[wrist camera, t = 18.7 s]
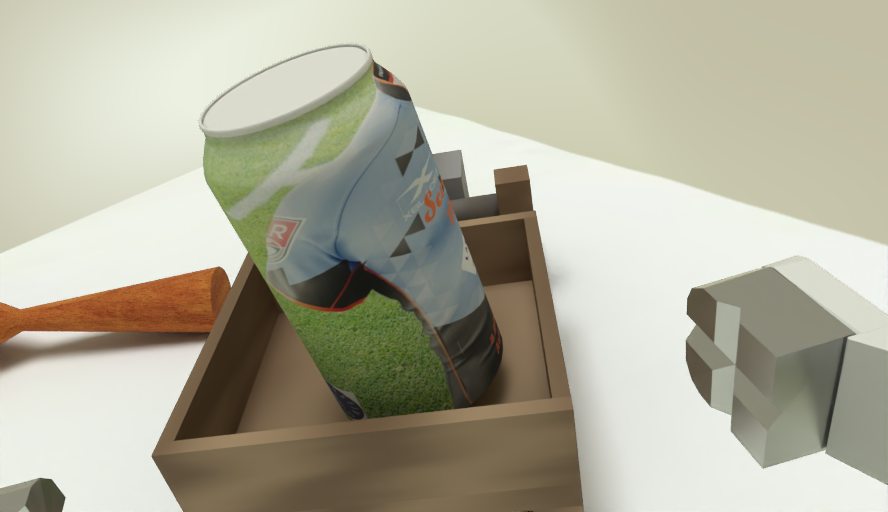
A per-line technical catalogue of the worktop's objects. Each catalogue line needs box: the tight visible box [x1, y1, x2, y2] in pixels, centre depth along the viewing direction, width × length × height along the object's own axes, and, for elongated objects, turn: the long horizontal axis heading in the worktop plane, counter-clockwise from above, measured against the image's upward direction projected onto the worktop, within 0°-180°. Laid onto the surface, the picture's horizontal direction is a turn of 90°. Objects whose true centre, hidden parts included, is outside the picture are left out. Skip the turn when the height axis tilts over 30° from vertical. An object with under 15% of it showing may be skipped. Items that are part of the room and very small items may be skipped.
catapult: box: [152, 150, 584, 512], centre depth 29 cm, size 12×18×6 cm, turn 179°
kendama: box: [0, 267, 231, 344], centre depth 35 cm, size 6×6×20 cm
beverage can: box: [199, 43, 503, 421], centre depth 22 cm, size 6×7×12 cm
